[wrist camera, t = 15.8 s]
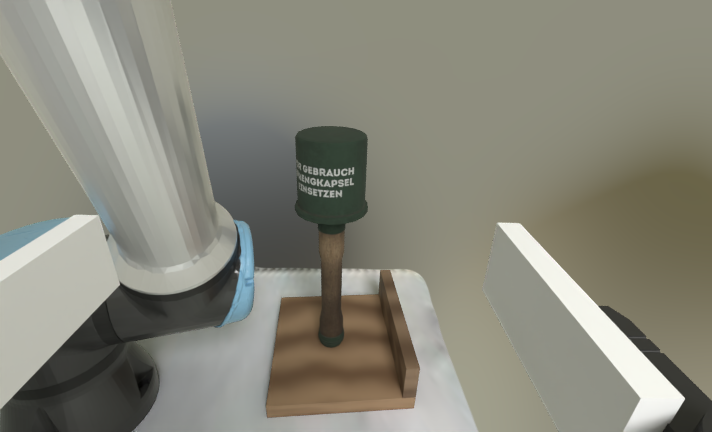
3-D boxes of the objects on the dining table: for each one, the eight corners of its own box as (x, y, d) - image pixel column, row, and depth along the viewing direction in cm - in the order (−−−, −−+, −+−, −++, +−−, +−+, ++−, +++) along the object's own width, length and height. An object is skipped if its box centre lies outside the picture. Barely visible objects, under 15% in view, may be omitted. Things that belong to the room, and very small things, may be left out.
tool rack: (413, 408, 45) (419, 368, 42) (267, 417, 43) (262, 376, 40) (387, 303, 63) (389, 269, 60) (282, 307, 61) (279, 272, 58)
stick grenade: (288, 342, 52) (274, 132, 38) (330, 311, 58) (330, 121, 44) (332, 375, 47) (333, 148, 34) (372, 338, 53) (387, 133, 40)
